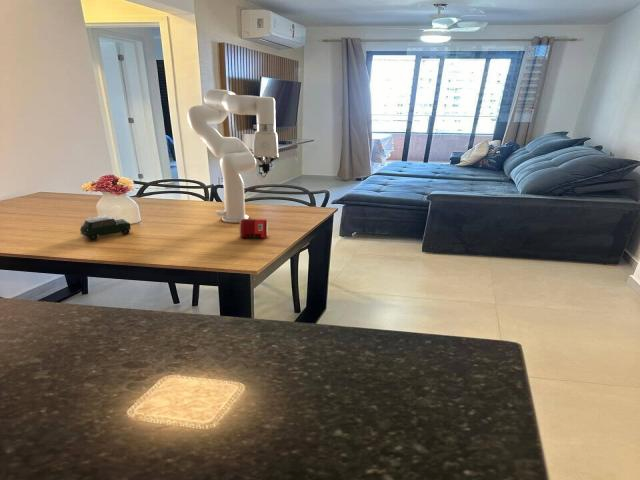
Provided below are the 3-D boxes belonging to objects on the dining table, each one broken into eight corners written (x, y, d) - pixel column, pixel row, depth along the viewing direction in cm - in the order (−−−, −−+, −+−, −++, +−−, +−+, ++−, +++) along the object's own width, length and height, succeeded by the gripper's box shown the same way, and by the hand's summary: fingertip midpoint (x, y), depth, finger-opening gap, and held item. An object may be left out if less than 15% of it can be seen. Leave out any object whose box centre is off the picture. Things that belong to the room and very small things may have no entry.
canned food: (267, 215, 160) (240, 215, 159) (266, 227, 154) (238, 227, 153) (267, 229, 165) (242, 229, 164) (267, 241, 159) (240, 241, 158)
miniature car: (133, 233, 161) (131, 215, 158) (85, 242, 149) (82, 222, 146) (126, 228, 167) (123, 210, 164) (79, 237, 155) (75, 218, 152)
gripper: (246, 128, 154) (247, 173, 160) (282, 129, 154) (282, 175, 160) (249, 127, 161) (250, 170, 167) (284, 128, 161) (284, 172, 167)
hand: (266, 172), depth 164 cm, fingers closed
